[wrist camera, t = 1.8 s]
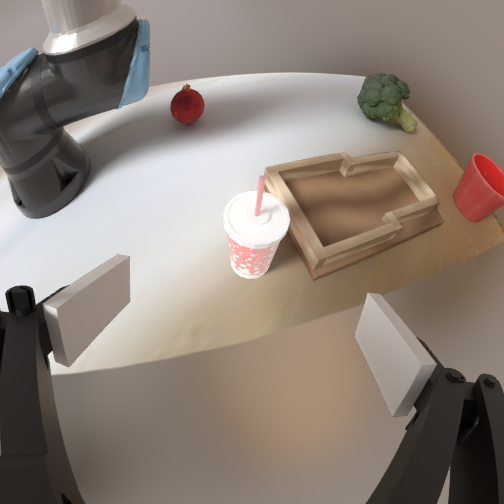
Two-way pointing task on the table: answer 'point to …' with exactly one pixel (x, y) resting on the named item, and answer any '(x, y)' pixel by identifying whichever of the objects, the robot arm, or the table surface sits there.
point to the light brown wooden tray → (351, 206)
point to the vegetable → (386, 100)
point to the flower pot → (480, 188)
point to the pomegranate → (187, 105)
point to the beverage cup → (254, 230)
